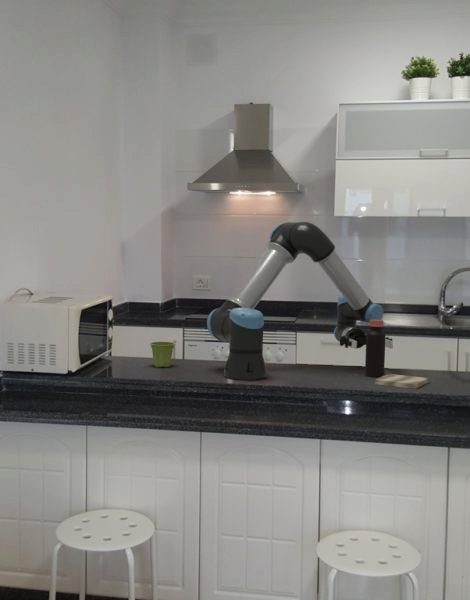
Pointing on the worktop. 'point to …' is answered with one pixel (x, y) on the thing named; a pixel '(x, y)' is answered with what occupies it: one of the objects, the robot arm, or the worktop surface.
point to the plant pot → (162, 353)
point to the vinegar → (375, 349)
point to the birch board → (401, 381)
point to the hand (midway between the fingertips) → (373, 344)
